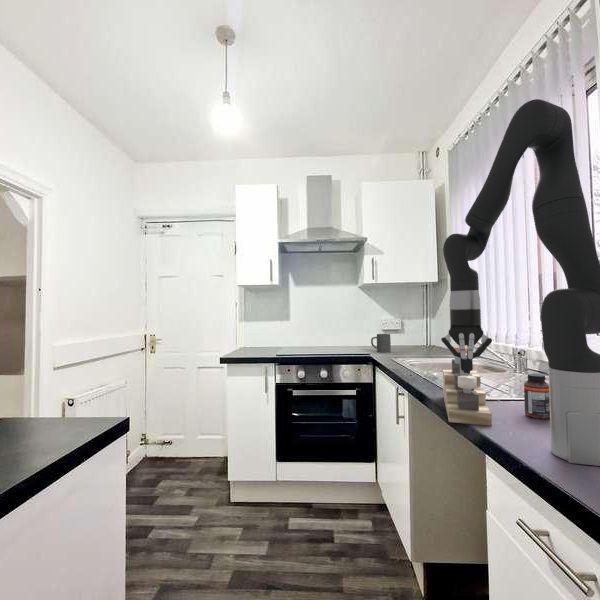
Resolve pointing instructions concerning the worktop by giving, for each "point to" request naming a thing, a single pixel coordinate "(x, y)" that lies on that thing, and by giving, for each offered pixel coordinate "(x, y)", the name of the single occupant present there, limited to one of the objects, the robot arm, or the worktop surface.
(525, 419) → the worktop surface
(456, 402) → the wooden block staircase
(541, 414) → the supplement bottle
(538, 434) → the worktop surface
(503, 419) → the worktop surface
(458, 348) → the pink block
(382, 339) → the mug
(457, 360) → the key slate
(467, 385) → the white mushroom-shaped block
